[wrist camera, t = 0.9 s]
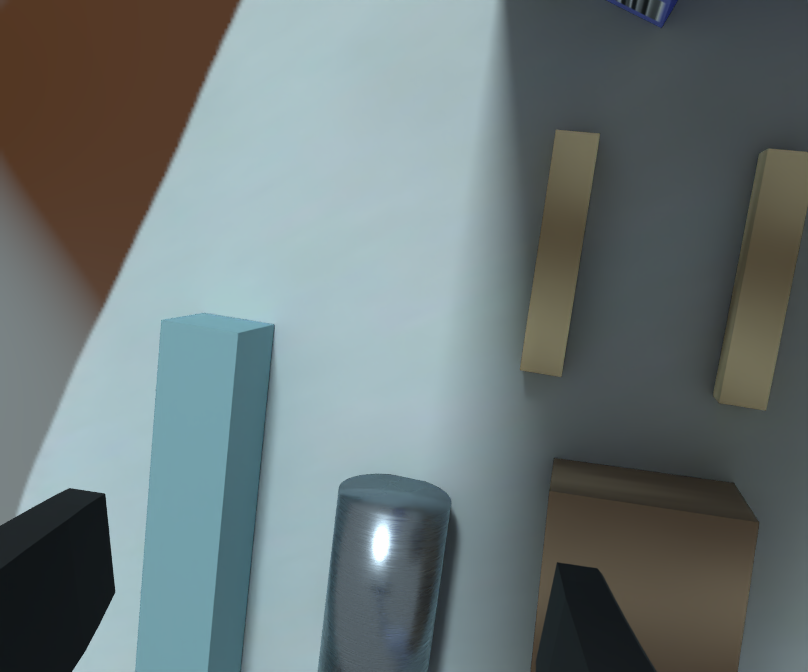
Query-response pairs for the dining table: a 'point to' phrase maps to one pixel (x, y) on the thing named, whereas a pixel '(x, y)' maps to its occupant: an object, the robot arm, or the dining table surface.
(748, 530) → the slab
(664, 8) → the cereal box
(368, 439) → the dining table surface
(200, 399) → the bar
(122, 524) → the dining table surface
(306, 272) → the dining table surface
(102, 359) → the dining table surface
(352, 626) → the roller
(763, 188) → the roller rack
